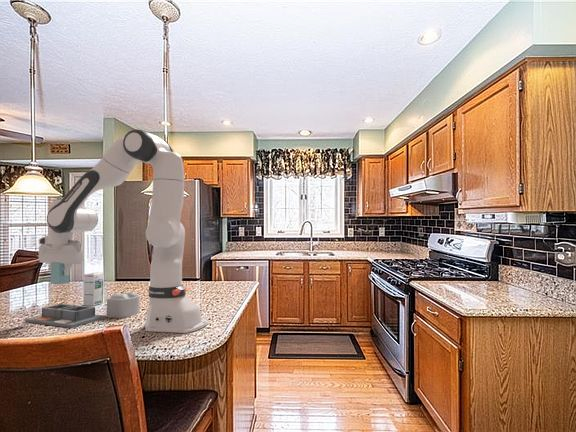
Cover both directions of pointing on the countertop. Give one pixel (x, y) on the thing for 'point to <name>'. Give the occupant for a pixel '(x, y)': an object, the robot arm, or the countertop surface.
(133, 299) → the lumpy-topped squat cylinder
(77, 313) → the socket board
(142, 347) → the countertop surface
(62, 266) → the teal upright block
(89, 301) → the syrup box
